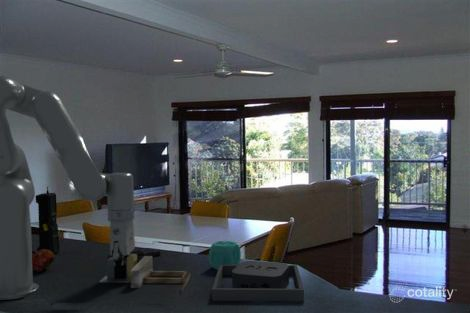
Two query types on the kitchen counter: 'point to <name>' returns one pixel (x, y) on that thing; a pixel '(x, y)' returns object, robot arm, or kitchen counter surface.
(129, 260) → the latch bar
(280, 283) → the streaming box
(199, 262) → the kitchen counter surface
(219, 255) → the decorative dice
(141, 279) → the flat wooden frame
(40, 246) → the portable radio
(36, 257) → the pomegranate
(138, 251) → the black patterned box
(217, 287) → the dark rectangular frame
